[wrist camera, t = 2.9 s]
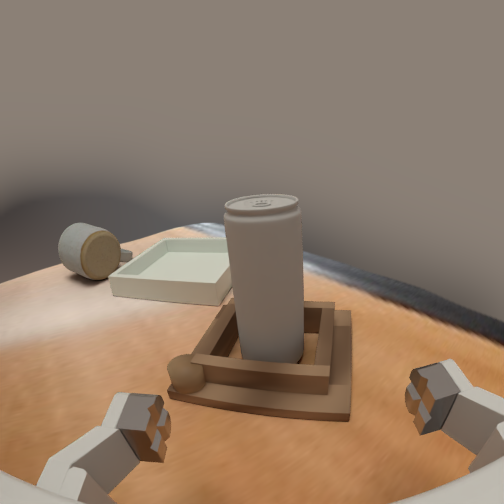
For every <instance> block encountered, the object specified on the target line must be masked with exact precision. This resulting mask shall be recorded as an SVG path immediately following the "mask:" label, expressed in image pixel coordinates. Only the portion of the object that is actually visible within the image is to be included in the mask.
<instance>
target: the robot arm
mask: <svg viewBox="0 0 504 504" xmlns="http://www.w3.org/2000/svg"><path fill="white" fill-rule="evenodd" d="M409 378H410V380H411V383H410V384H409V385H408V386H407V388H406V392H405V403H406V407H407V409H408V411H409V413H411V414H413V415H414V416H415V418H414V421H413V422H414V424H415V426H416V428H417V430H418V432H419V435H424V434H427V433H431V432H434V431H437V430H440V429H441V431H443V432H444V433H446V434H447V435H448V436H450V437H451V438H453V439H454V440H455V441H457V442H458V443H460V444H461V445H463V446H464V447H465V448H467V449H468V450H470V451H471V452H473V453H474V454H476V455H477V456H476V457H475V459H474V460H473V461H472V463H471V464H470V466H469V468H468V469H469V471H470V473H469V474H467V475H465V476H463V477H461V478H458V479H456V480H454V481H451V482H449V483H447V484H444V485H442V486H439V487H437V488H434V489H432V490H429V491H426V492H423V493H421V494H418V495H415V496H412V497H409V498H406V499H403V500H399V501H396V502H393V503H389V504H504V398H502V397H499V396H497V395H495V394H493V393H490V392H488V391H486V390H484V389H481V388H479V387H473V386H472V385H471V383H470V382H469V380H468V379H467V378H466V376H465V375H464V374H463V372H462V371H461V370H460V368H459V367H458V366H457V364H456V363H455V362H454V361H453V360H452V359H448V360H445V361H441V362H438V363H434V364H430V365H427V366H423V367H419V368H415V369H413V370H412V372H411V374H410V377H409ZM163 405H164V401H163V399H162V397H161V396H160V395H150V394H137V393H123V392H118V393H116V394H115V396H114V398H113V400H112V402H111V404H110V407H109V409H108V411H107V413H106V415H105V418H104V420H103V422H102V424H101V426H96V427H95V428H93V429H92V430H90V431H89V432H87V433H86V434H85V435H83V436H82V437H80V438H79V439H77V440H76V441H74V442H73V443H71V444H70V445H68V446H67V447H65V448H64V449H62V450H61V451H59V452H58V453H56V454H55V455H53V456H52V457H50V458H49V459H48V461H47V464H46V466H45V468H44V470H43V472H42V474H41V476H40V478H39V480H38V483H37V485H36V486H35V485H32V484H30V483H28V482H25V481H23V480H21V479H18V478H16V477H14V476H12V475H10V474H8V473H6V472H4V471H2V470H0V504H117V503H116V502H115V501H114V500H113V499H112V498H111V497H110V496H109V495H108V494H109V493H110V492H111V491H112V490H113V489H114V488H115V487H116V486H117V485H118V484H119V483H120V482H121V481H122V480H123V479H124V478H125V477H126V476H127V475H128V474H129V473H130V472H131V471H132V470H133V469H134V468H135V467H136V466H137V465H138V464H139V463H140V461H146V462H158V463H164V459H165V455H166V450H167V446H166V444H165V441H166V440H167V439H168V438H169V437H170V433H171V420H170V416H169V413H168V411H166V410H165V409H164V408H163Z"/></svg>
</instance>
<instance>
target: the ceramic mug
mask: <svg viewBox="0 0 504 504" xmlns="http://www.w3.org/2000/svg"><path fill="white" fill-rule="evenodd" d="M58 251H59V256H60V259H61V262H62V263H63V265H64V266H65V267H66V268H67V269H69V270H70V271H72V272H75V273H77V274H79V275H82V276H84V277H86V278H89V279H93V280H102V279H105V278H107V277H108V276H109V275H111V274H112V273H113V272H115V270H116V269H117V267H118V265H119V262H129V261H131V260H132V252H131V251H128V250H124V249H121V248H120V244H119V242H118V240H117V238H116V237H115V236H114V235H113V234H112V233H110V232H109V231H107V230H105V229H103V228H99V227H95V226H91V225H89V224H85V223H76V224H73V225H71V226H69V227H68V228H67V229H66V230H65V231H64V232H63V234H62V235H61V238H60V241H59V246H58Z"/></svg>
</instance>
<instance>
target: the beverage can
mask: <svg viewBox="0 0 504 504" xmlns="http://www.w3.org/2000/svg"><path fill="white" fill-rule="evenodd" d="M297 204H298V198H297V197H294V196H291V195H283V194H264V195H263V194H262V195H253V196H246V197H241V198H237V199H233V200H231V201H229V202H227V203H226V204H225V209H226V210H227V212H226V213H225V214H224V222H225V232H226V240H227V248H228V256H229V264H230V272H231V279H232V287H233V295H234V302H235V310H236V318H237V325H238V333H239V340H240V347H241V354H242V357H243V359H245V360H255V361H265V362H277V363H290V364H296V363H297V362H298V361H299V360H300V358H301V356H302V354H303V350H304V285H303V249H302V221H301V210H300V208H299V207H298V206H296V205H297Z"/></svg>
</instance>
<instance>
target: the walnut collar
mask: <svg viewBox="0 0 504 504" xmlns="http://www.w3.org/2000/svg"><path fill="white" fill-rule="evenodd" d="M304 332H310V333H319V337H318V344H317V351H316V357H315V364H314V365H305V364H290V363H277V362H265V361H255V360H245V359H236V358H228V355H229V353H230V351H231V349H232V347H233V345H234V343H235V341H236V339H237V337H238V335H239V333H238V325H237V318H236V310H235V302H234V298H231V300H230V301H229V303H228V304H227V305H223V307H222V308H221V310H220V311H219V313H218V314H217V316H216V317H215V319H214V320H213V322H212V324H211V325H210V327H209V328H208V330H207V331H206V333H205V334H204V336H203V337H202V339H201V340H200V342H199V343H198V345H197V346H196V348H195V349H194V351H193V352H192V354H185V355H180V356H177V357H175V358H174V359H172V360H171V361H170V362H169V364H168V366H167V370H168V373H169V376H170V379H171V382H172V384H171V385H170V387H169V388H168V390H167V392H168V394H169V397H170V398H172V399H176V400H180V401H185V402H190V403H194V404H199V405H204V406H209V407H215V408H220V409H226V410H232V411H239V412H245V413H252V414H260V415H268V416H276V417H286V418H297V419H310V420H327V421H349V416H350V405H351V368H352V334H351V310H335V302H313V301H304Z"/></svg>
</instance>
